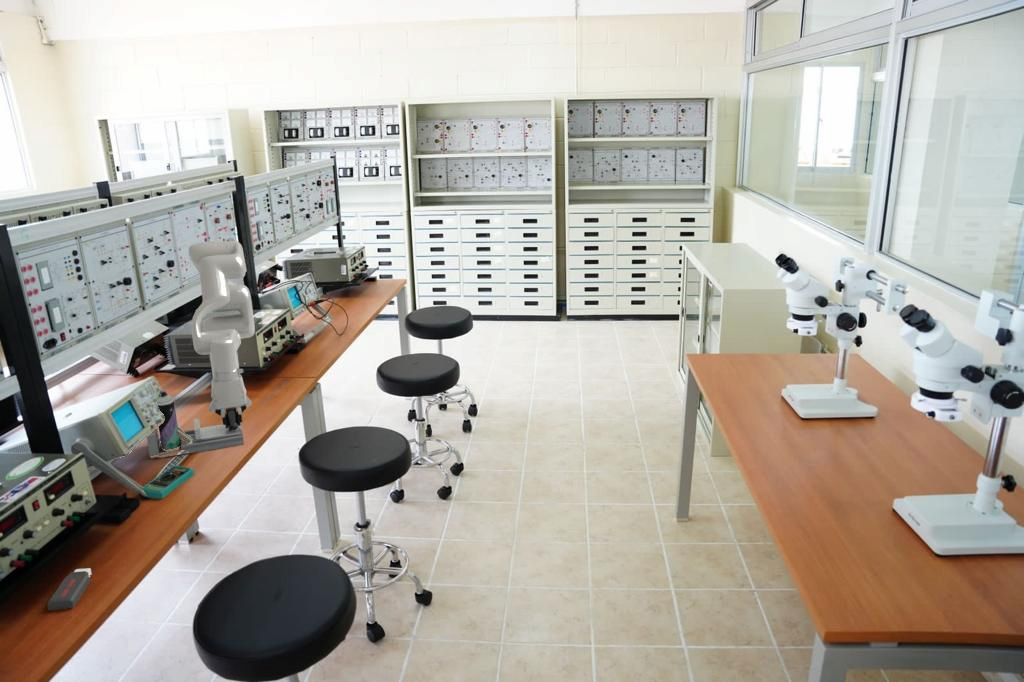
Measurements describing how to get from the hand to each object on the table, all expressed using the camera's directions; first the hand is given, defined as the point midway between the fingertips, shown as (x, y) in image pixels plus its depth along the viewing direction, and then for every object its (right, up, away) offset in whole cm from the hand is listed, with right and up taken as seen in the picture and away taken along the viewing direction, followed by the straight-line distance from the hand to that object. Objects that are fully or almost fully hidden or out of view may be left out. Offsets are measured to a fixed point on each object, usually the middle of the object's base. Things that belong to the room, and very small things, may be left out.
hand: (232, 424), depth 227 cm
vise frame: (-10, -6, -3) cm, 12 cm away
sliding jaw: (-4, -4, -1) cm, 5 cm away
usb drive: (-8, -30, -70) cm, 77 cm away
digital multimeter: (-8, -15, -27) cm, 32 cm away
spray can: (-17, -7, -6) cm, 20 cm away
